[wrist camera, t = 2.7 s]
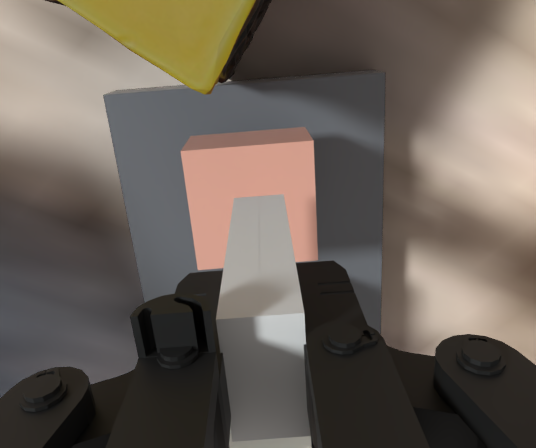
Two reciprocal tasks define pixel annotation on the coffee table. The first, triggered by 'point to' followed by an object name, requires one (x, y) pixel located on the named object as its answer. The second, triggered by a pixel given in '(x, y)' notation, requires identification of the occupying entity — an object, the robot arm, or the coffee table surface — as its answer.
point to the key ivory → (273, 443)
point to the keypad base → (254, 119)
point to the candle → (180, 33)
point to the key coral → (249, 186)
